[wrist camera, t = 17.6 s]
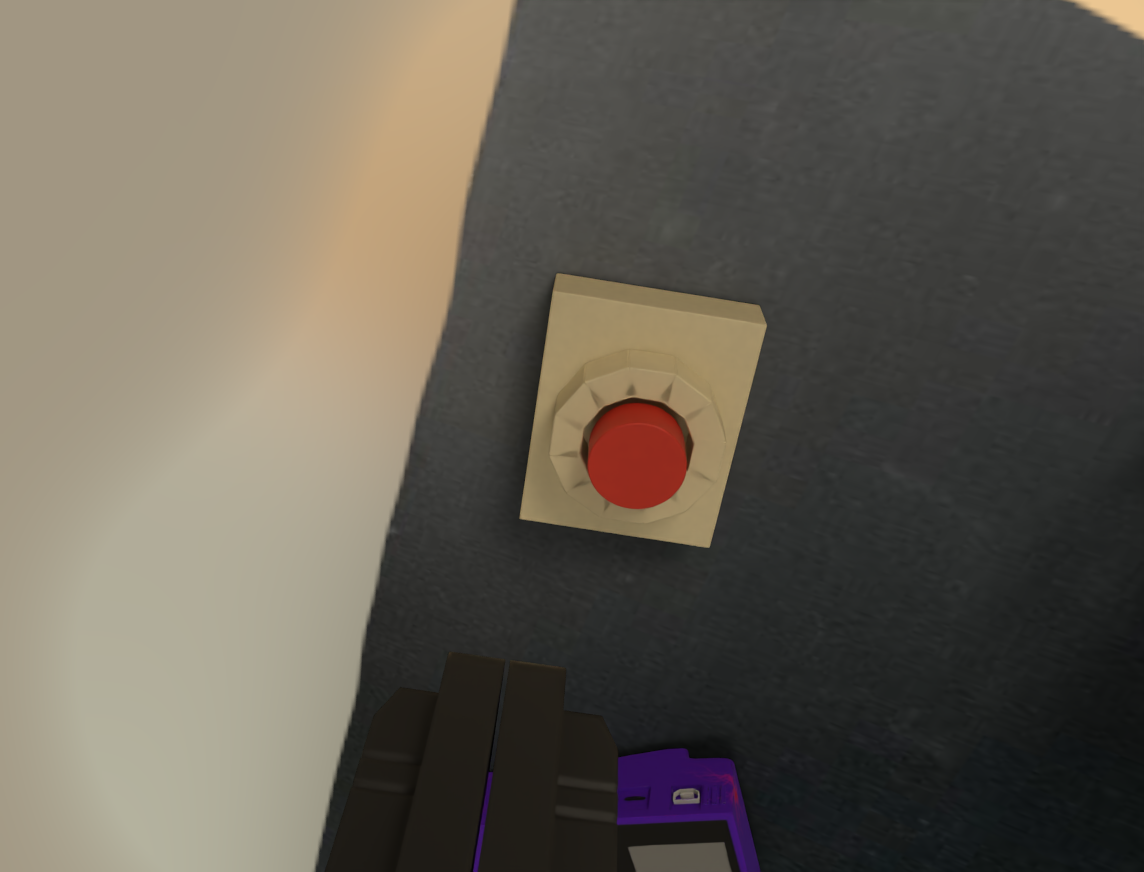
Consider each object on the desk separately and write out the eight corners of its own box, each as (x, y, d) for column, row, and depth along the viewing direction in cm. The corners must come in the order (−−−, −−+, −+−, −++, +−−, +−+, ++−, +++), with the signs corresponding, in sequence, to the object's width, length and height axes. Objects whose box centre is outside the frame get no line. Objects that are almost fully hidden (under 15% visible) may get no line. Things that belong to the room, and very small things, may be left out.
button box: (556, 272, 38) (549, 307, 34) (760, 304, 38) (774, 343, 34) (524, 492, 42) (514, 543, 39) (705, 520, 42) (713, 573, 39)
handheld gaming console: (422, 834, 47) (732, 819, 43) (451, 752, 51) (733, 732, 48) (478, 956, 51) (766, 953, 47) (500, 870, 55) (764, 860, 52)
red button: (597, 395, 36) (595, 415, 34) (693, 410, 36) (696, 431, 34) (582, 478, 37) (580, 501, 36) (674, 492, 38) (676, 516, 36)
